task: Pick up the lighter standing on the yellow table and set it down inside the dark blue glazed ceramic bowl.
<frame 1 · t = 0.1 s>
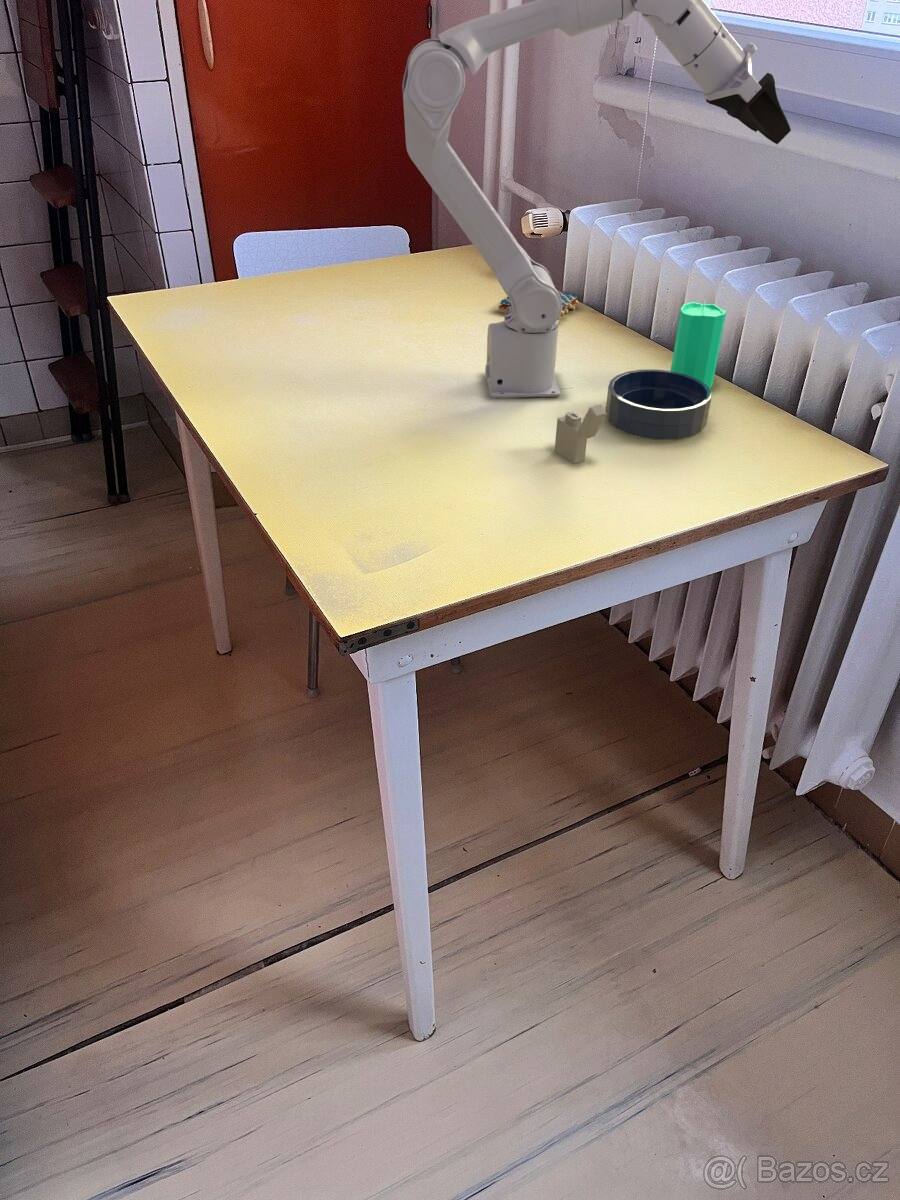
hand: (772, 130, 112), 32 cm above the table, tool tilted 50°, fingers open, 7 cm apart
candle: (690, 384, 131), on the table
lighter: (576, 461, 112), on the table
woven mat: (538, 310, 155), on the table
bowl: (654, 421, 121), on the table
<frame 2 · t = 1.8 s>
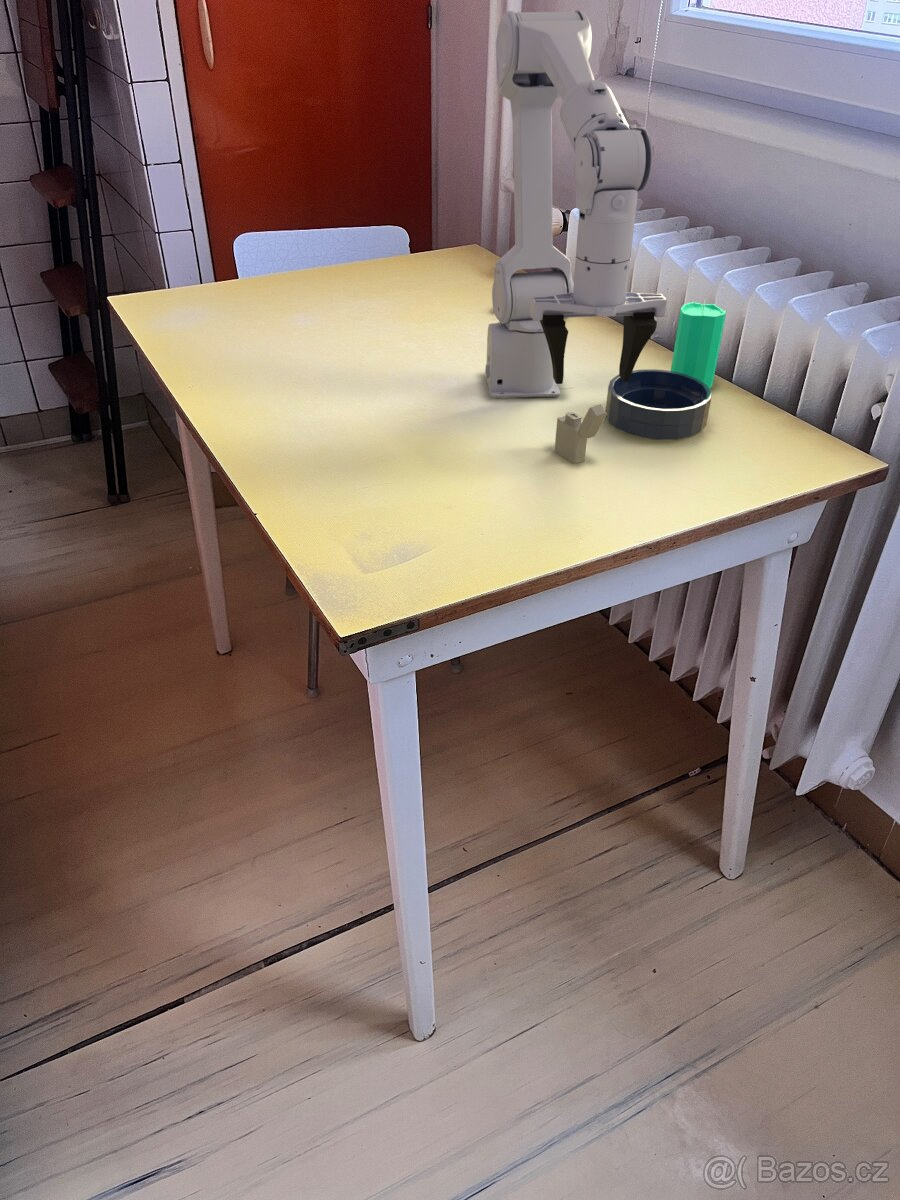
hand: (591, 379, 106), 10 cm above the table, tool pointing down, fingers open, 7 cm apart
nothing on the table moved.
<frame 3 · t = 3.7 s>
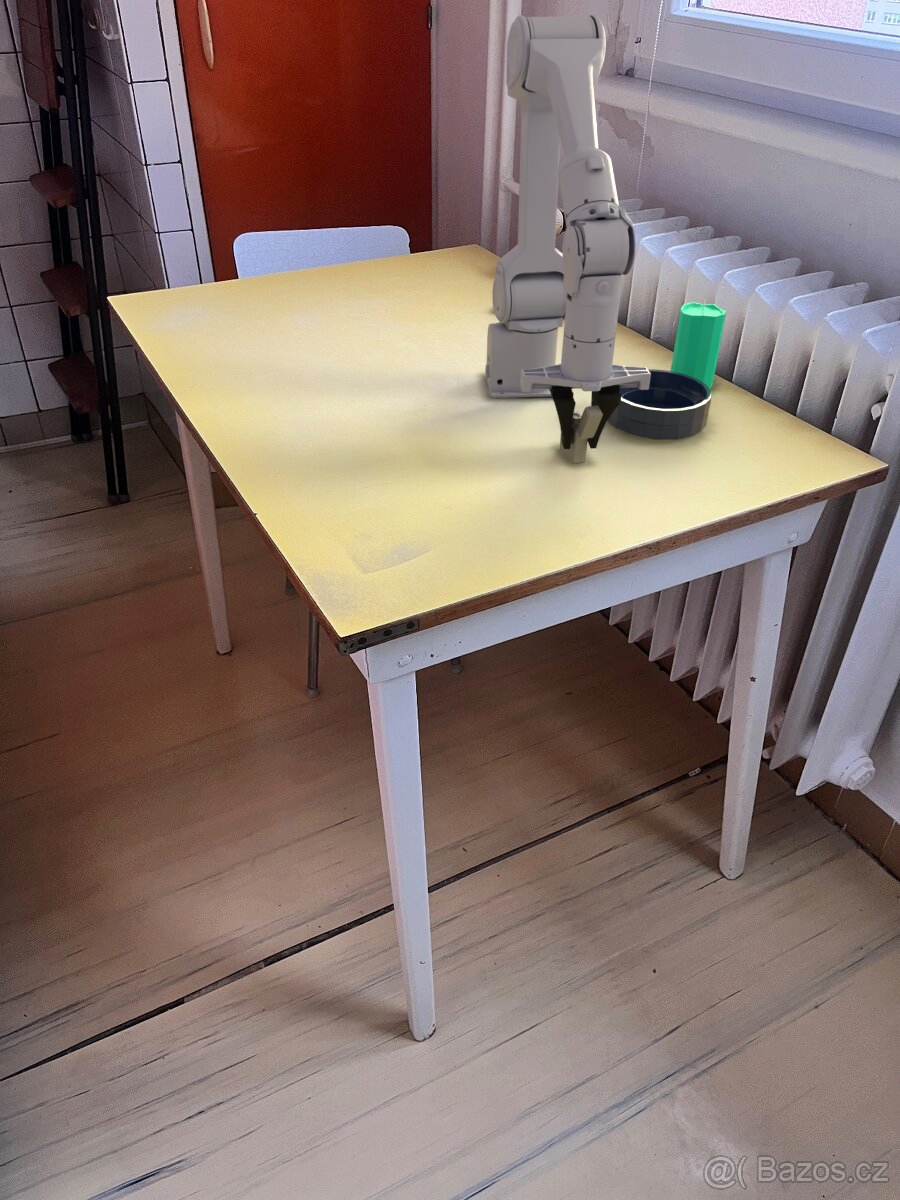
hand: (578, 445, 111), 2 cm above the table, tool pointing down, fingers closed on lighter, 2 cm apart
lighter: (577, 462, 112), on the table, touching gripper
everything else where it was.
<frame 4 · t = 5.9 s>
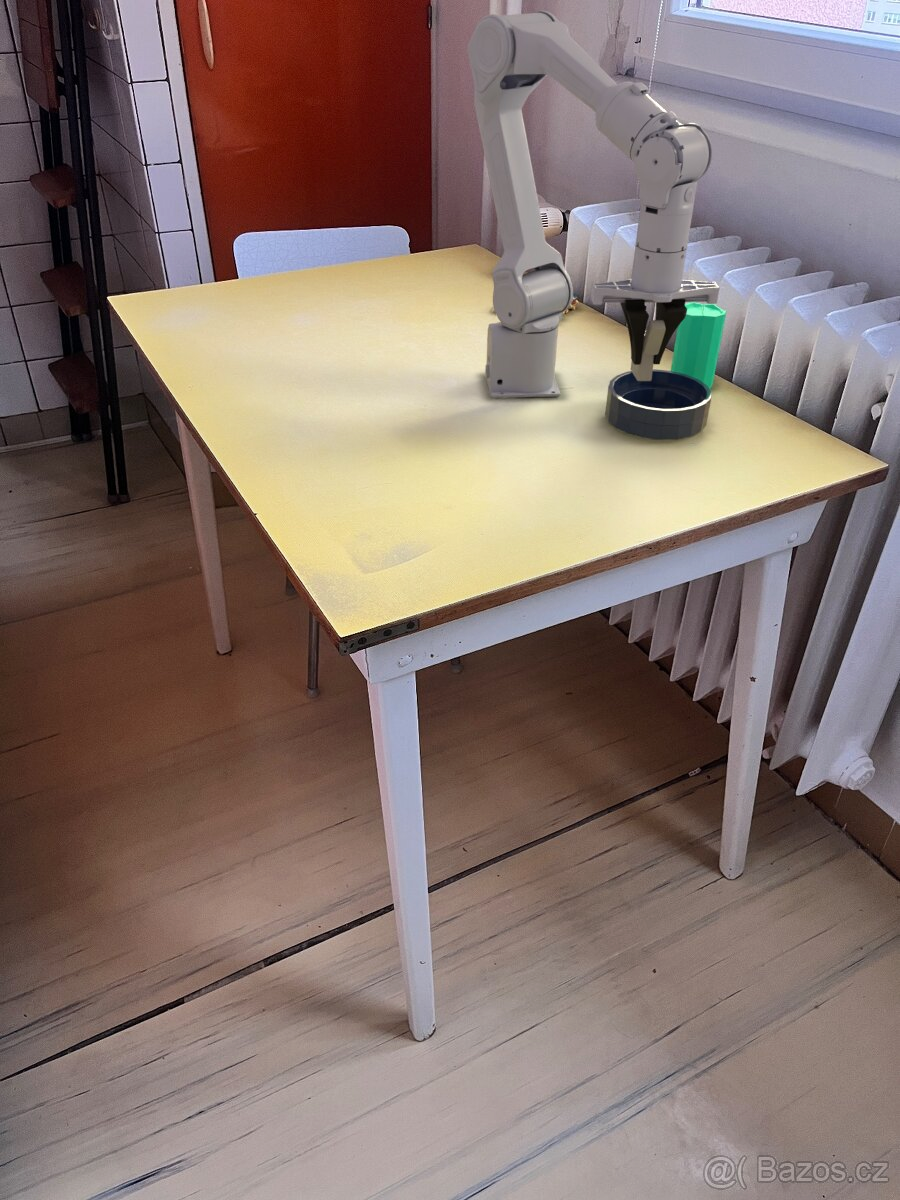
hand: (645, 361, 113), 9 cm above the table, tool pointing down, fingers closed on lighter
lighter: (643, 380, 114), point 7 cm above the table, touching gripper
everything else where it was.
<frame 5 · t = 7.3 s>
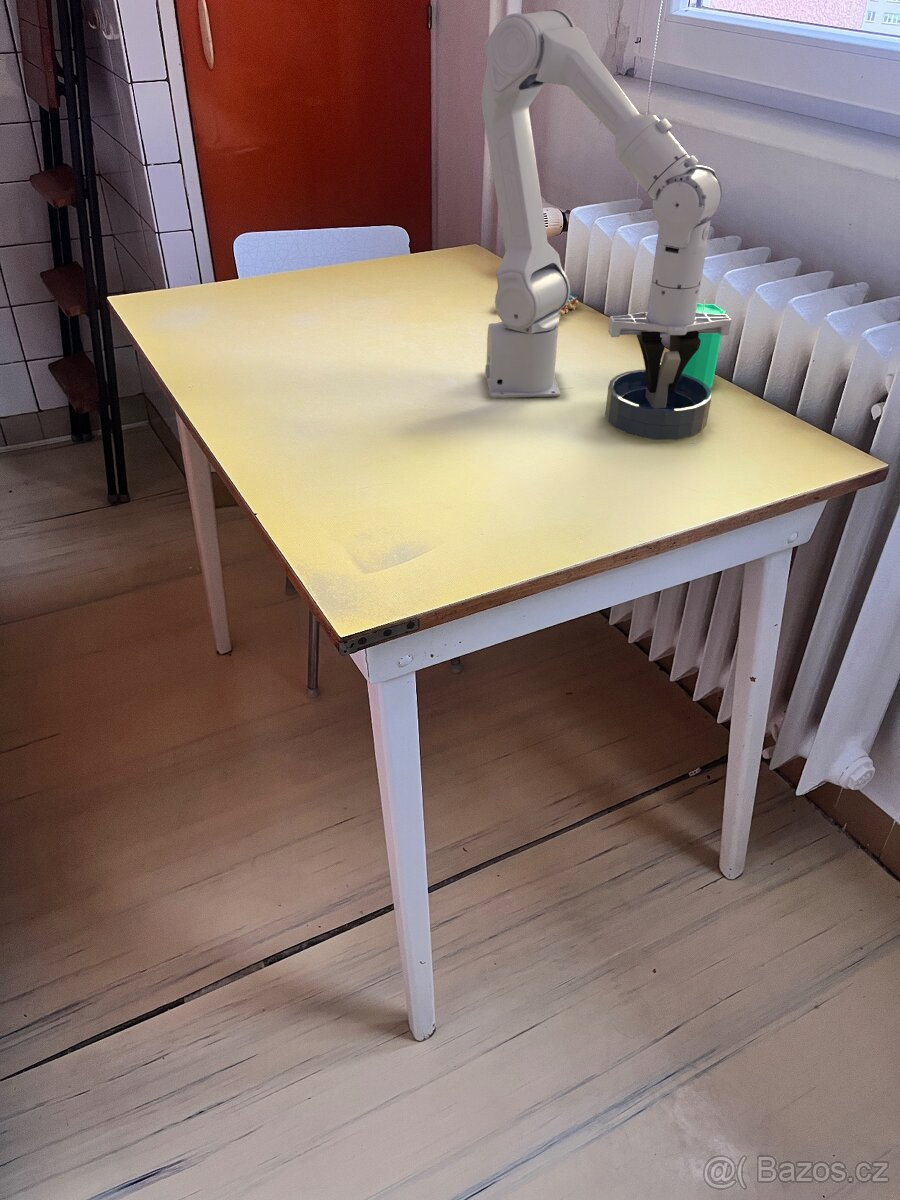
hand: (659, 389, 118), 4 cm above the table, tool pointing down, fingers closed on lighter, 2 cm apart
lighter: (658, 407, 119), point 2 cm above the table, touching gripper
everything else where it was.
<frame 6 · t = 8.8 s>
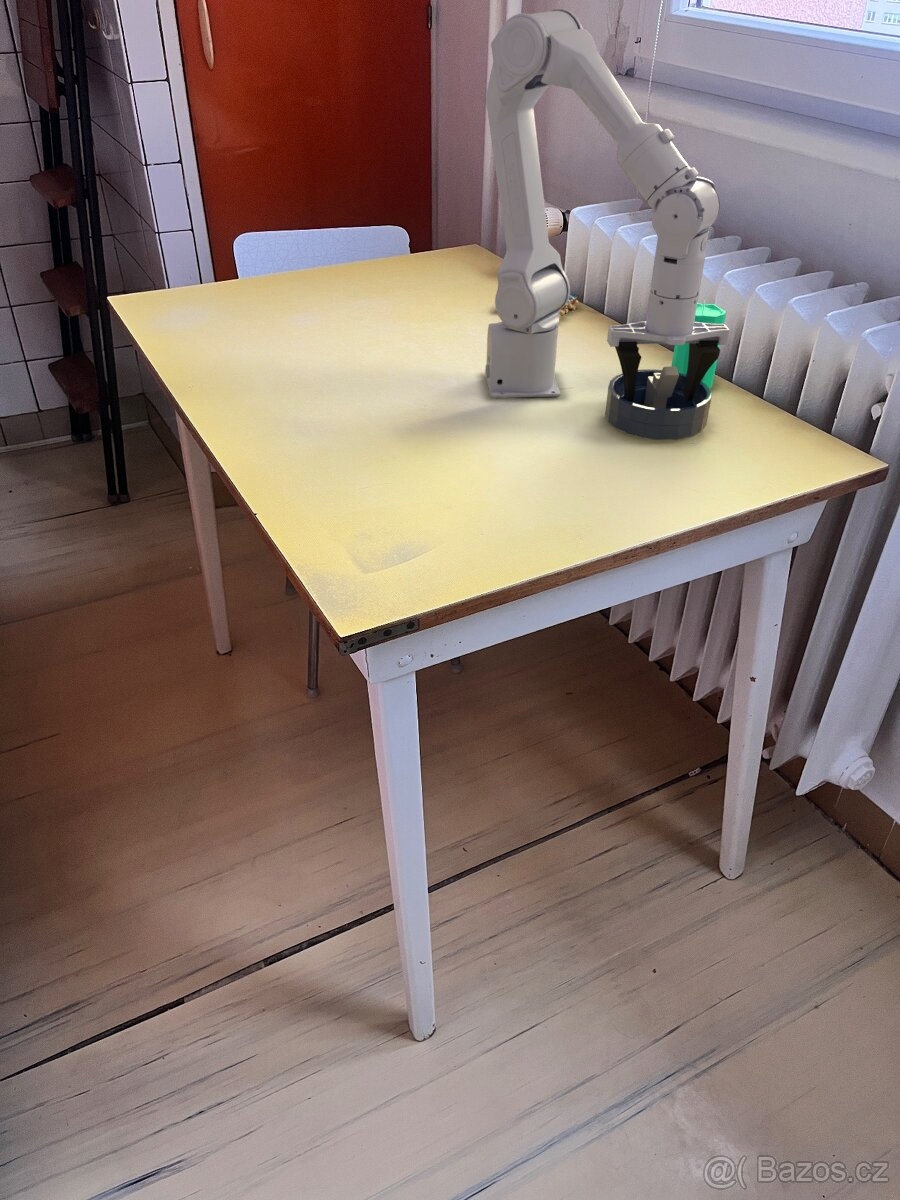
hand: (658, 398, 119), 3 cm above the table, tool pointing down, fingers open, 7 cm apart
lighter: (656, 420, 120), resting on bowl
everything else where it was.
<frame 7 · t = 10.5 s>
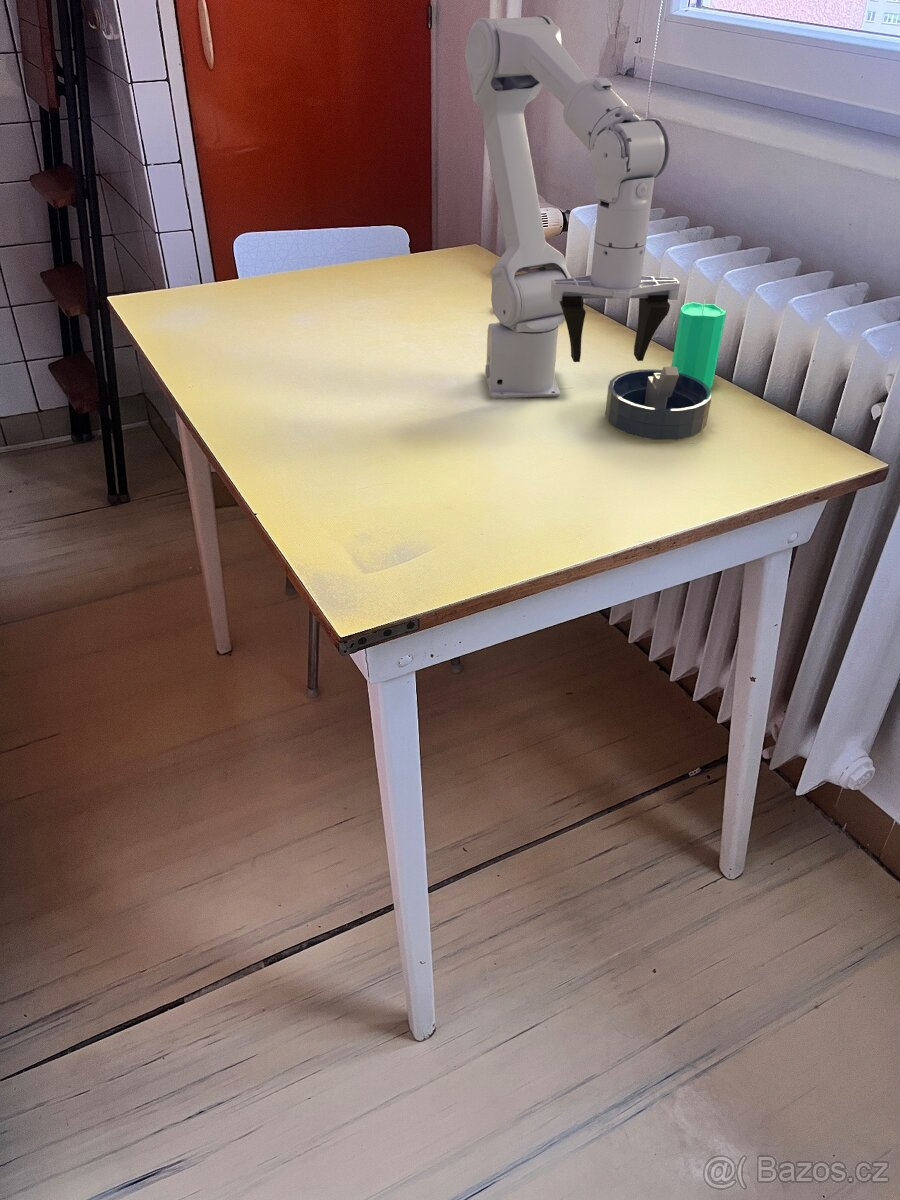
hand: (606, 358, 112), 10 cm above the table, tool pointing down, fingers open, 7 cm apart
nothing on the table moved.
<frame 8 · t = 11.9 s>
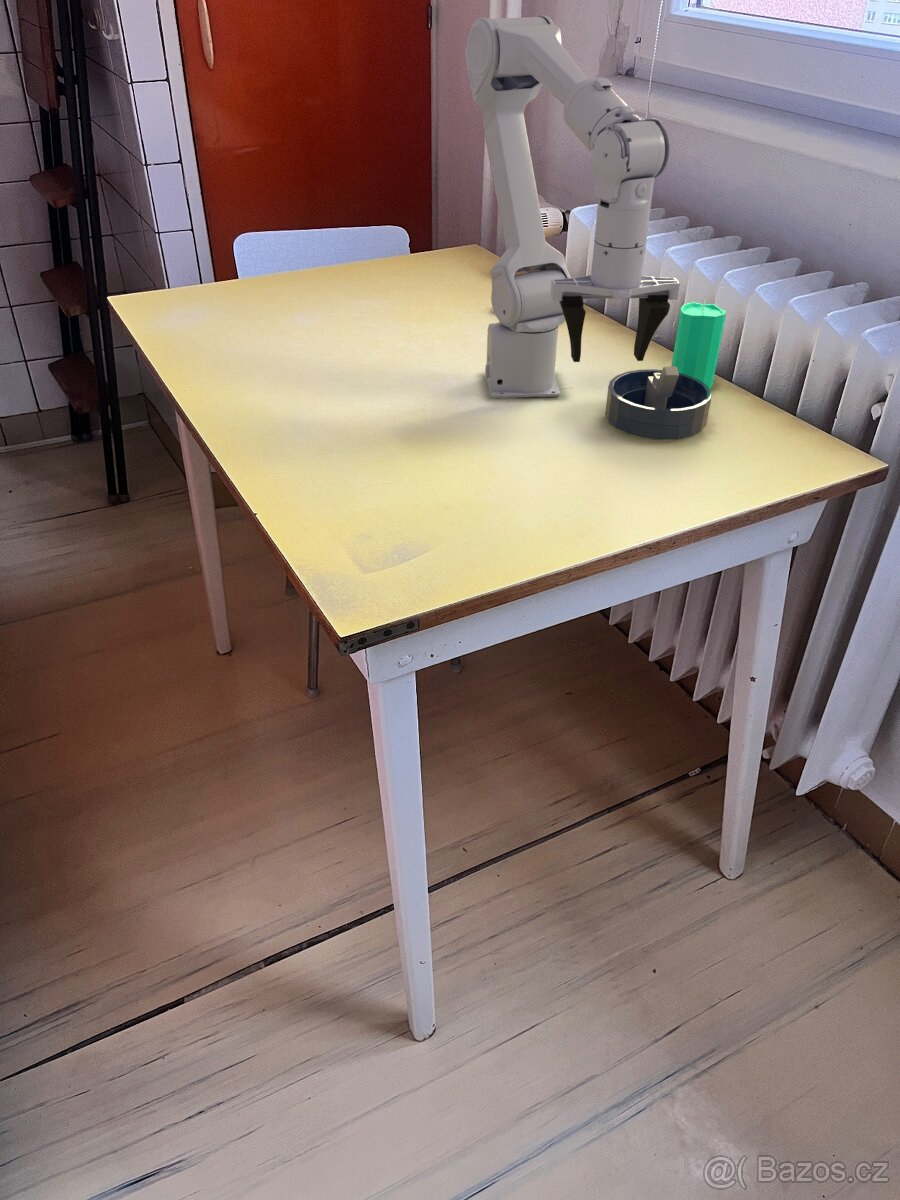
hand: (606, 358, 112), 10 cm above the table, tool pointing down, fingers open, 7 cm apart
nothing on the table moved.
at the end: lighter inside the target area in the bowl (0.4 cm from its centre), point 0.4 cm above the bowl's base; the gripper is holding nothing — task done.
